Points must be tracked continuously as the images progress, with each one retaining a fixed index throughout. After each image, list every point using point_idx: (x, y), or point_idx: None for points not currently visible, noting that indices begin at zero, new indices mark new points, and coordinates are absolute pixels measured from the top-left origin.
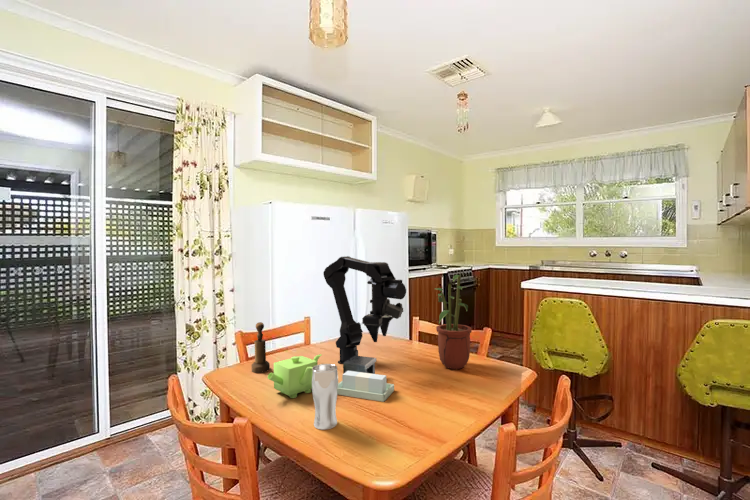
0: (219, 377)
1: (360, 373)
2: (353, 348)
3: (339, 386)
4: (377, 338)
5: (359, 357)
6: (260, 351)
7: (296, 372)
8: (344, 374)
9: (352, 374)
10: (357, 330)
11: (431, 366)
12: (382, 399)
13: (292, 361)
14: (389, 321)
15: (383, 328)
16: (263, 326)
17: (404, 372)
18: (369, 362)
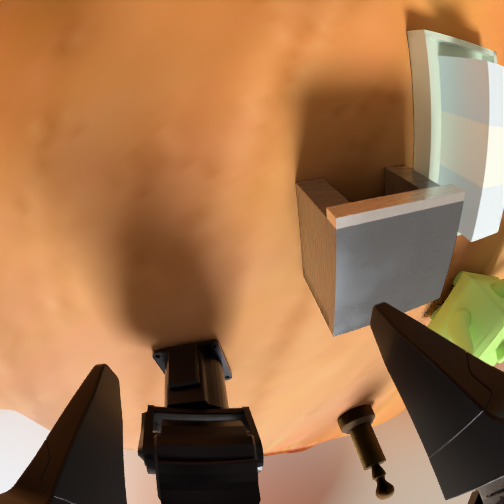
0: (397, 409)
1: (491, 179)
2: (204, 398)
3: None
4: (396, 326)
5: (358, 300)
6: (377, 443)
7: None
8: (497, 227)
9: (498, 202)
10: (194, 477)
11: (3, 39)
12: (484, 56)
13: (494, 354)
14: (22, 499)
15: (104, 449)
16: (385, 490)
17: (152, 76)
18: (426, 204)
